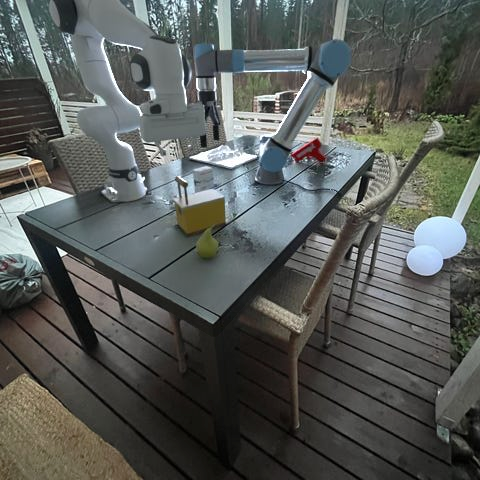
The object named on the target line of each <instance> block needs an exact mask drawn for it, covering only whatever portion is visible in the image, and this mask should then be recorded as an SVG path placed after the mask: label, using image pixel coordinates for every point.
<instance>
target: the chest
mask: <svg viewBox="0 0 480 480" xmlns="http://www.w3.org/2000/svg"><path fill="white" fill-rule="evenodd" d="M225 199H226V198H225ZM225 199H224V200H220V201H216V202H212V203H209V204H205V205H201V206H197V207H194V208H190V209H186V210H181V209H180V208H179V207H178V206H177V205H176V204H175V203H174V209H175V215H176V222H177V227H178V228H179V229H180V230H181V231H182V232H183V233H184V235H186V237H187V238H188V237H192V236H195V235H198V234H201V233H204V232H205V231H206V230H207V229H208V228H211V227H212V226H213V225H214V224H216V222H217V221H218V224H217V225H215V226H214V227H213V228H212V229H211V230H214V229H217V228H219V227H224V226H226V225H227V221H226V218H227V217H226V200H225Z"/></svg>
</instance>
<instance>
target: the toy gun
mask: <svg viewBox="0 0 480 480" xmlns="http://www.w3.org/2000/svg"><path fill="white" fill-rule="evenodd" d="M322 145H323V143H322V142H321V140H320V139H319V137H318V136H316V137H315V138H313V139H311V140H310V141H308V142H307V143H306V144H304V145H303V146H301V147H299V148H298V149H296V150H295V151H294V152H292V153H291V157H292V159H293V160H294V162H295V163H299V162H301V161H302V160H304V159H306V158H307V160H312V159H313V158H314V159H315V160H317V161H318V162H319V165H321V164H322V163H320V162H323V161H324V163H325V162H326V159H327V156H326V155H325V154H323V152H321V151H320V149H321V148H322Z"/></svg>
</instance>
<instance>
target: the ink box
mask: <svg viewBox="0 0 480 480" xmlns="http://www.w3.org/2000/svg"><path fill="white" fill-rule="evenodd" d="M192 178H193V185H194V186H193V187H194V193H197V192H202V191H206V190H210V189H214V190H215V182H214V168H213V167H210V166H208V165H205V166H202V167H198V168H194V169H192Z"/></svg>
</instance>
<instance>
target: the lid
mask: <svg viewBox="0 0 480 480" xmlns="http://www.w3.org/2000/svg"><path fill="white" fill-rule="evenodd" d="M174 181H175V182H176V183H177V191H178V196H177V197H173V198H171V200H172V202H173V203H174V205H175V204H176V205H177V206H178V207H179V208H180V209H181V210H186V209H190V208H194V207H197V206H201V205H205V204H209V203H212V202H216V201H220V200H224V199H226V197H225V195H223V194H221V193H220V192H219V191H217V190H215V188H214V189H210V190H206V191H202V192H197V193H195V192H194V193H190V194H188V190H187V189H188V186H189V183H188V182H187V181H186V180H184V178H182V177H181V176H179V175H177V176H175V177H174ZM181 187H182V188H183V192H184V195H182V188H181Z"/></svg>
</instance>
